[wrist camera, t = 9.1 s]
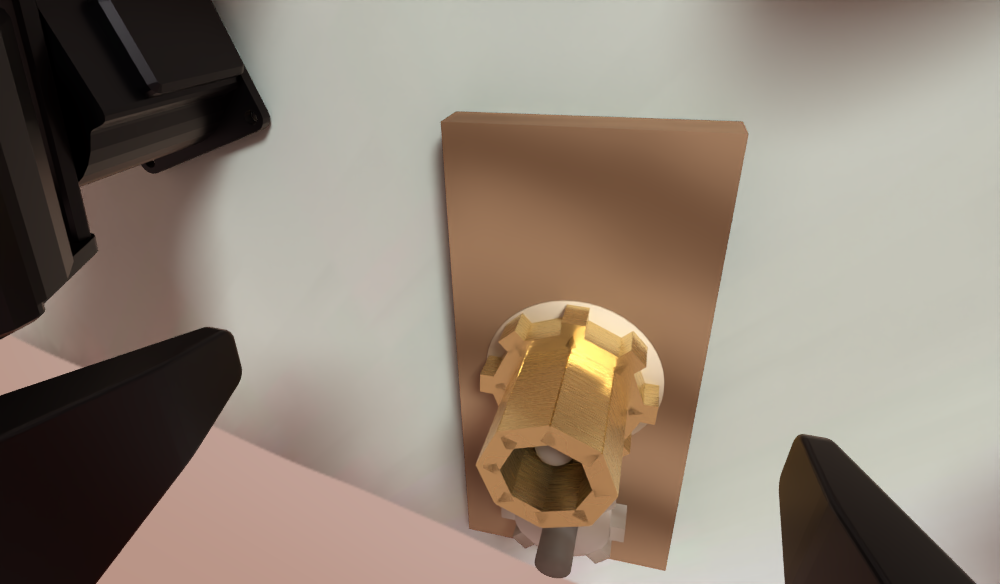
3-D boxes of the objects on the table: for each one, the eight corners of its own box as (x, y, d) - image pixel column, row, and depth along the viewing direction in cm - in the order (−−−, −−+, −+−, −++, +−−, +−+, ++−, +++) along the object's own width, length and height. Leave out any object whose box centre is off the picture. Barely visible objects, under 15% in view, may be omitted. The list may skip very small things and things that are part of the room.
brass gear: (522, 447, 24) (489, 552, 19) (467, 324, 21) (416, 411, 17) (673, 433, 21) (673, 548, 17) (630, 291, 19) (618, 384, 15)
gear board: (665, 541, 26) (663, 669, 21) (478, 503, 28) (439, 612, 24) (742, 121, 17) (770, 181, 12) (456, 111, 19) (383, 159, 14)
